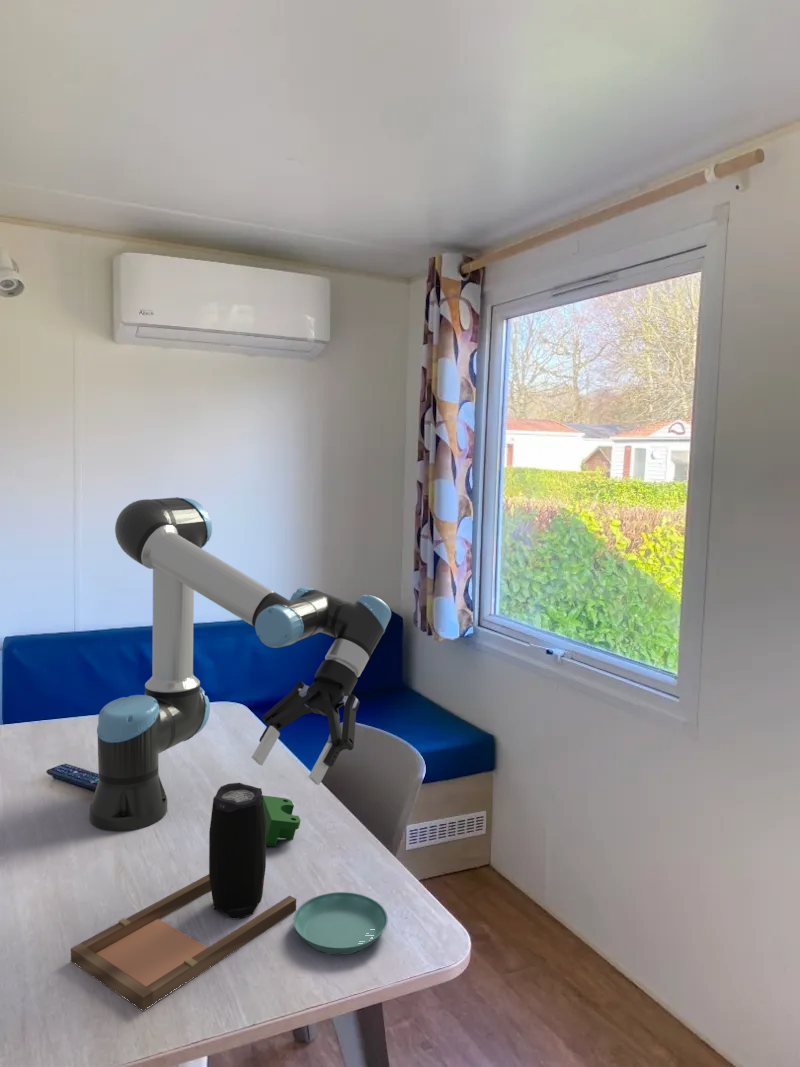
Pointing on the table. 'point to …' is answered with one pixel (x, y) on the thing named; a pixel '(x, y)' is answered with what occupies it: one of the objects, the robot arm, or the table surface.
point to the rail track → (191, 967)
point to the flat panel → (151, 951)
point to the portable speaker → (237, 849)
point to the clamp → (279, 819)
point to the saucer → (340, 922)
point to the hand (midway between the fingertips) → (284, 771)
